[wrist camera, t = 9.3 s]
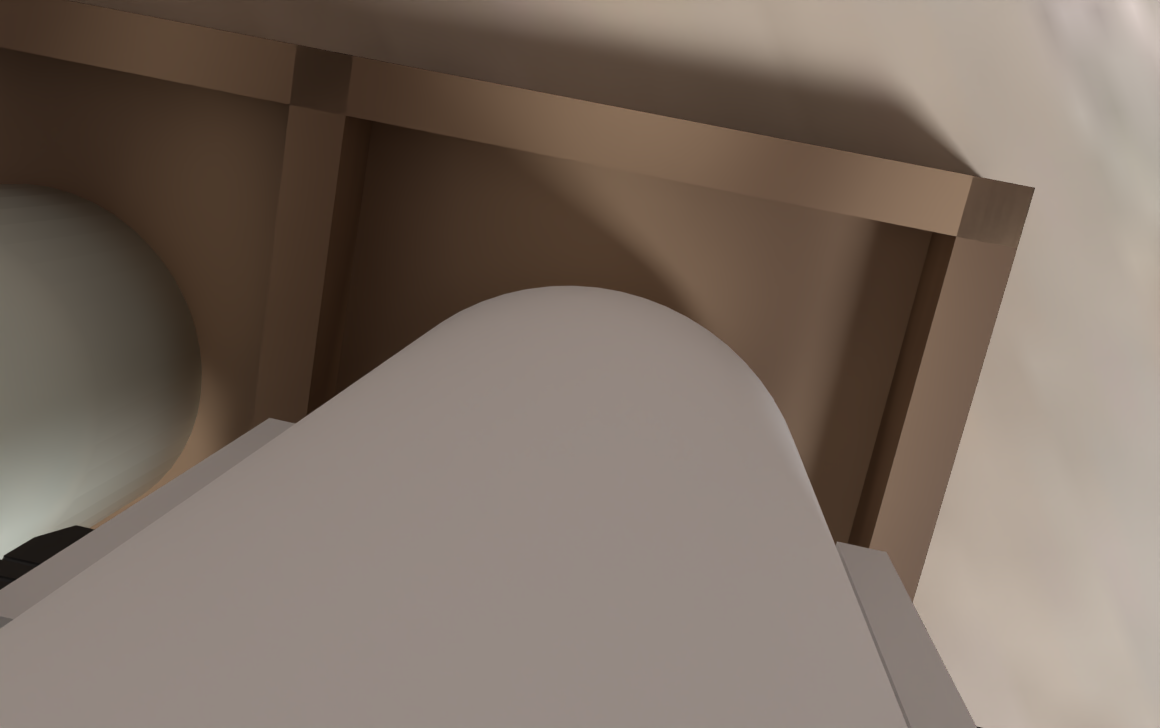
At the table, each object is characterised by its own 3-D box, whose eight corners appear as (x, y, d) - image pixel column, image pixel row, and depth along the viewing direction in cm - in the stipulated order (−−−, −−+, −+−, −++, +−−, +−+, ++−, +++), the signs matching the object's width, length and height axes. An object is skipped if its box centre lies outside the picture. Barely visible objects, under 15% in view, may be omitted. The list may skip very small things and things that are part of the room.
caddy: (-202, 578, 23) (-308, 629, 20) (-200, -48, 20) (-326, -76, 17) (808, 817, 21) (824, 902, 19) (987, 183, 18) (1034, 187, 16)
